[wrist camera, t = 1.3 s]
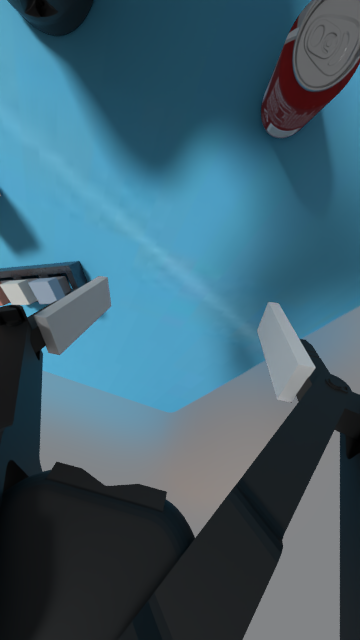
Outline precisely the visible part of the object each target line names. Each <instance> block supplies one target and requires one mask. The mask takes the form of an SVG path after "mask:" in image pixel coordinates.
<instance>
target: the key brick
mask: <svg viewBox="0 0 360 640" xmlns="http://www.w3.org/2000/svg"><path fill="white" fill-rule="evenodd" d="M8 281H13V280H7V281H0V284H3V283H5V282H8ZM7 303H10V300H9V299H8V297H7V296H6V294H5V293H4V291H3V289H2V288H1V286H0V306H2V305H5V304H7Z"/></svg>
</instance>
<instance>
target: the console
mask: <svg viewBox="0 0 360 640" xmlns="http://www.w3.org/2000/svg"><path fill="white" fill-rule="evenodd" d="M60 273H66V274H67V277H68V279H69V281H70V284H71V286H72V288H73V289H71V290H72V291H70V292H68V293H66V294H65V296H67V295H68V294H70V293H72V292H73V291H75V290H77V289H78V288H80V287H82V286H83V285H85V284H87V280H86V277H85V275H84V272H83V270H82V267H81V265H80V262H79V261H76V262H65V263H55V264H44V265H33V266H22V267H11V268H1V269H0V281H7V280H13V279H14V280H25V279H34V278H36V276H35V275H38V276H39V278H40V279H41V278H52V277H61V274H60ZM36 302H38V300H37V301H36ZM10 303H11V302H10Z"/></svg>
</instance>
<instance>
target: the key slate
mask: <svg viewBox="0 0 360 640" xmlns="http://www.w3.org/2000/svg"><path fill="white" fill-rule="evenodd" d="M28 284H29V286H30V287H31V289H32V291H33V293H34V295H35V296H36V298H37V300H38V302H39V304H51V303H53V302H54V301H57V300H60V299H62V298H64V297H65V294H66V293H68V292H70V291H72V290H71V288H70V286H69V284H68V281H67V279H66V277H65V276H61V277H52V278H41V279H36V280H33V281H31V282H28Z"/></svg>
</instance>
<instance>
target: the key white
mask: <svg viewBox="0 0 360 640" xmlns="http://www.w3.org/2000/svg"><path fill="white" fill-rule="evenodd" d="M36 279H38V278H34V279H25V280H13V281H8V282H5V283H3V284H0V286H1V288H2V289H3V291H4V293H5V294H6V296H7V297H8V299H9V300H10V302H11V303H12V305H30V304H32V303H34V302H36V301H37V298H36V296H35V295H34V293H33V291H32V289H31V287H30V286H29V284H28V282H31V281H33V280H36Z"/></svg>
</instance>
